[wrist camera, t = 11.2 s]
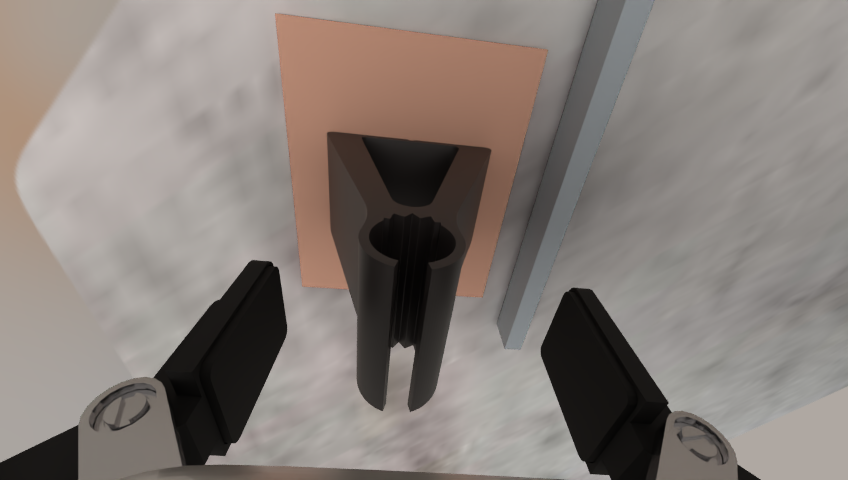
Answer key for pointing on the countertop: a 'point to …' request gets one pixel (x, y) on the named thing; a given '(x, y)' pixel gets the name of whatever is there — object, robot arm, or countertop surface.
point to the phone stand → (402, 247)
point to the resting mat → (400, 118)
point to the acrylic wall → (572, 155)
